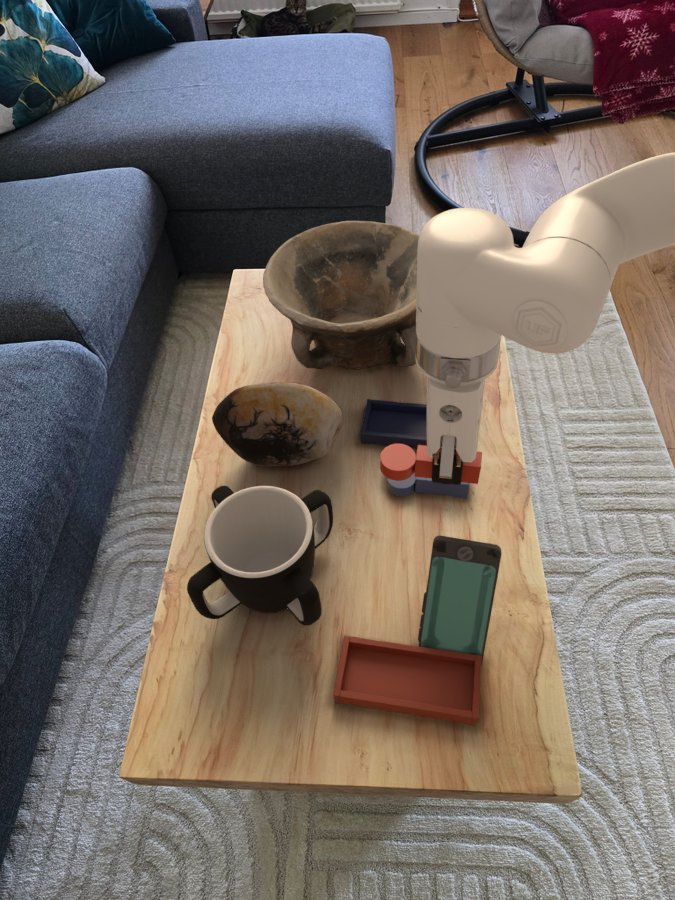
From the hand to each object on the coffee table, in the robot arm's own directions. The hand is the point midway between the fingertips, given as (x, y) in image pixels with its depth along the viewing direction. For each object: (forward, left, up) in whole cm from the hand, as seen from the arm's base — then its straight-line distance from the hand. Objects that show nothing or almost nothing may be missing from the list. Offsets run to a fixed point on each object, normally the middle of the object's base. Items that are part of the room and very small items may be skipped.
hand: (447, 470), depth 76 cm
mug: (+20, +9, -15) cm, 26 cm away
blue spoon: (+3, -8, -14) cm, 17 cm away
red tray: (+2, +19, -14) cm, 24 cm away
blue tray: (+5, -18, -14) cm, 24 cm away
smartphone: (-3, +11, -9) cm, 14 cm away
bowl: (+17, -36, -15) cm, 42 cm away
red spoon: (+3, 0, 0) cm, 3 cm away
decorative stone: (+23, -10, -15) cm, 29 cm away
